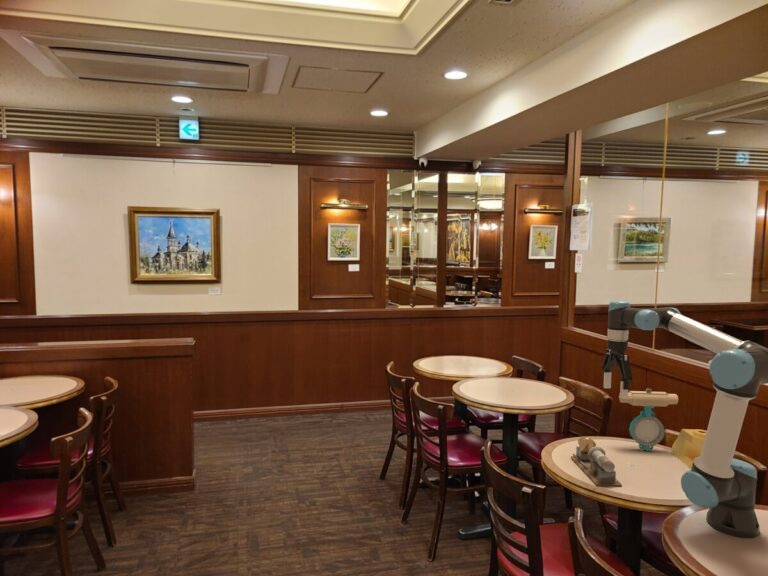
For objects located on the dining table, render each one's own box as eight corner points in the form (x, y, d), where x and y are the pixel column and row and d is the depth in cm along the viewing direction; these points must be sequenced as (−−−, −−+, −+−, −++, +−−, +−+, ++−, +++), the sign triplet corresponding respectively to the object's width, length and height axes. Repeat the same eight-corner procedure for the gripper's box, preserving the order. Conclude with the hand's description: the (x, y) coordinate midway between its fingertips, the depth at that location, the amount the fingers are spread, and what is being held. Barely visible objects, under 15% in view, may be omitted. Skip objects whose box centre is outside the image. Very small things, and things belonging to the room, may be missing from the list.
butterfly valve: (671, 448, 249) (674, 387, 246) (677, 454, 242) (681, 391, 239) (613, 445, 251) (616, 385, 249) (618, 451, 244) (621, 389, 242)
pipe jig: (621, 487, 207) (623, 459, 206) (596, 487, 207) (598, 459, 206) (591, 458, 236) (593, 433, 235) (570, 457, 236) (571, 433, 235)
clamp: (716, 472, 223) (719, 436, 222) (694, 471, 223) (697, 435, 222) (691, 454, 243) (694, 420, 241) (671, 453, 243) (673, 420, 242)
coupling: (595, 461, 229) (596, 438, 228) (579, 461, 229) (580, 438, 228) (590, 455, 235) (591, 434, 234) (574, 455, 235) (575, 434, 234)
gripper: (644, 345, 193) (641, 401, 195) (611, 334, 218) (609, 384, 220) (624, 345, 193) (621, 401, 194) (594, 334, 218) (592, 384, 219)
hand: (615, 392), depth 207 cm, fingers open, 13 cm apart
